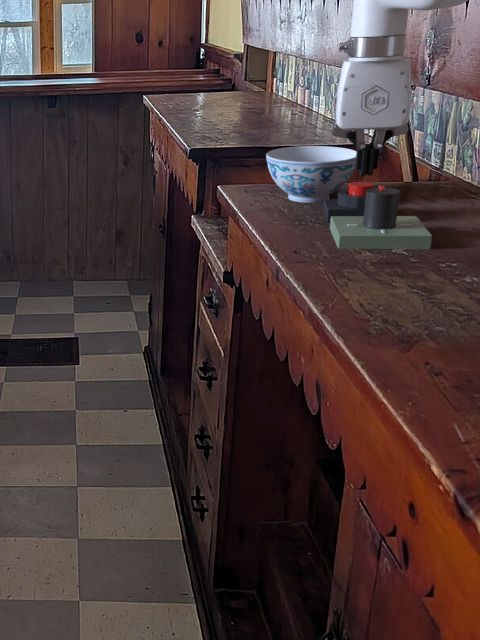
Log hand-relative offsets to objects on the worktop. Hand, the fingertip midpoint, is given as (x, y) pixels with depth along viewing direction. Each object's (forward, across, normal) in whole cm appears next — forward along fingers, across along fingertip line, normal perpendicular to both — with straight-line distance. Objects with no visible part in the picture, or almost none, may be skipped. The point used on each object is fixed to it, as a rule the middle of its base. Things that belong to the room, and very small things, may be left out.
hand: (365, 173), depth 134 cm
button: (+3, 0, 0) cm, 3 cm away
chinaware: (+7, -7, +14) cm, 17 cm away
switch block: (+7, 0, 0) cm, 7 cm away
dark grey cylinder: (+5, +1, -12) cm, 13 cm away
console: (+7, 0, -12) cm, 14 cm away
